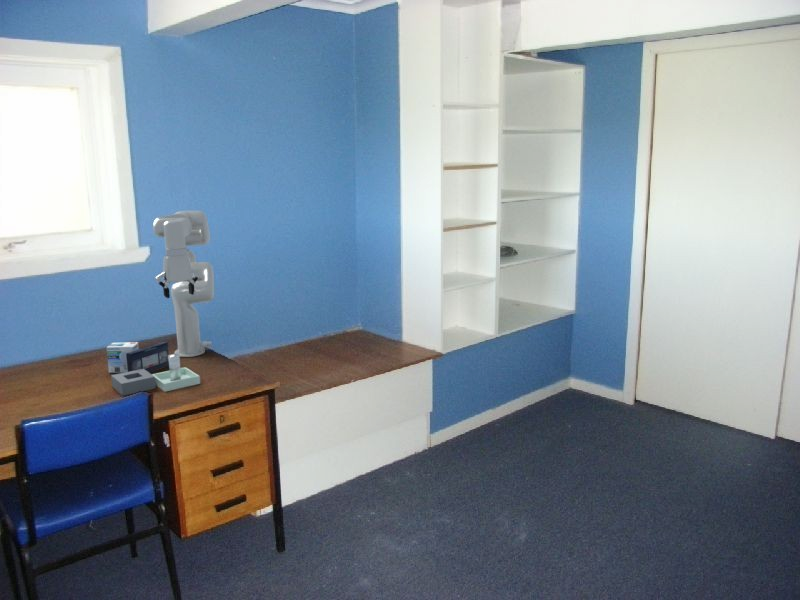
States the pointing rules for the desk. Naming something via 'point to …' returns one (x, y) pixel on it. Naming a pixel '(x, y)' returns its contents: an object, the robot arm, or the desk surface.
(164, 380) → the tray
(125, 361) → the light bulb box
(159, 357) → the vhs cassette tape
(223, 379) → the desk surface
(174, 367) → the steel pin
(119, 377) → the pin holder
